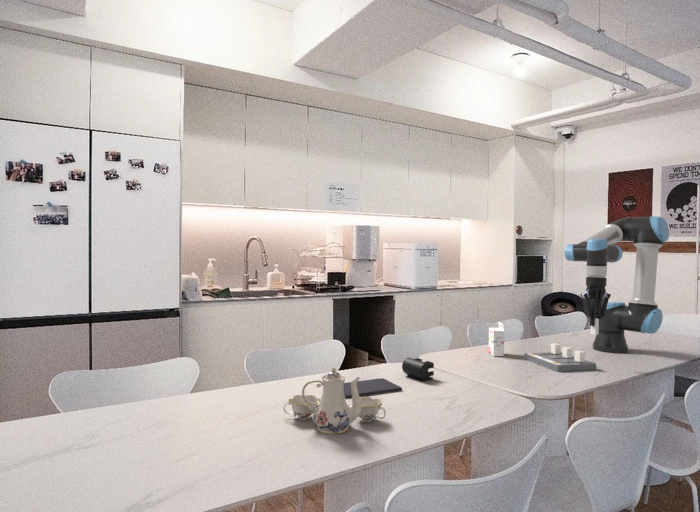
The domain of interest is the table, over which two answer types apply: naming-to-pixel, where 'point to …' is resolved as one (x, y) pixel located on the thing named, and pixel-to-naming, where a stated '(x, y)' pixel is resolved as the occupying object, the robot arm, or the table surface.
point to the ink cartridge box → (496, 340)
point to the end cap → (418, 368)
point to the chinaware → (334, 405)
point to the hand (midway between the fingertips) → (594, 333)
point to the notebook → (371, 387)
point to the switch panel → (559, 362)
